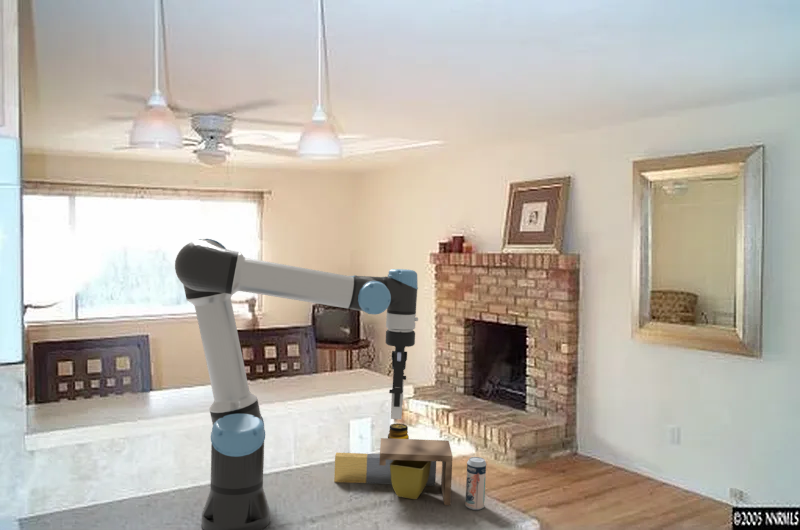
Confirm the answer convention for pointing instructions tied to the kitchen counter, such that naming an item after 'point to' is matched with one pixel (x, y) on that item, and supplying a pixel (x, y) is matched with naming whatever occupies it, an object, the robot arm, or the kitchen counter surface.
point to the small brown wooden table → (421, 456)
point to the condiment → (398, 431)
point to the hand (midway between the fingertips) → (396, 411)
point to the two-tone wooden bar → (368, 469)
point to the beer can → (475, 483)
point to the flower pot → (409, 477)
